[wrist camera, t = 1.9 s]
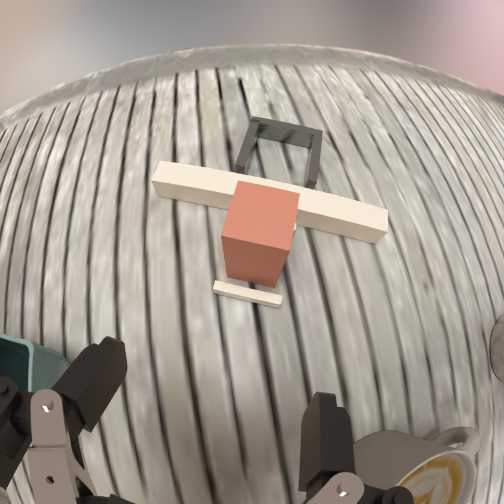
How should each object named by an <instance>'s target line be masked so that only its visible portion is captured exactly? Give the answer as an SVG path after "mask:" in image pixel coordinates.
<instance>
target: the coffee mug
mask: <svg viewBox="0 0 504 504" xmlns="http://www.w3.org/2000/svg"><path fill="white" fill-rule="evenodd" d="M460 442H461V443H463V444H462V445H461V446H459V447H456V448H453V447H449V445H451V444H454V443H460ZM480 443H481V439H480V435H479V433H478V432H477V431H476V430H475V429H473V428H470V427H455V428H451V429H448V430H446V431H444V432H442V433H441V434H439V435H438V436H437V437H435V438H434V439H432V440H430V441H427V440H424V439H420V438H417V437H414V436H411V435H407V434H404V433H401V432H398V431H391V430H386V431H379V432H376V433H373V434H370V435H367V436H365V437H364V438H362V439H360V440H359V441H357V442H356V443H354V444H353V450H354V461H355V471H356V474H357V476H358V477H359V478H360V479H361V480H362V482H363V483H364V484H366V485H368V486H371V487H375V488H379V489H383V490H388V489H390V488H392V487H394V486H402V487H405V488H407V489H408V490H409V491H410V492H411V493H412V495H413V499H414V504H468V503H469V501H470V499H471V496H472V494H473V491H474V489H475V485H476V479H477V467H476V463H475V461H474V459H473V456H474V455H475V454H476V453H477V451H478V449H479V447H480Z"/></svg>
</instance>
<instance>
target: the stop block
mask: <svg viewBox="0 0 504 504" xmlns="http://www.w3.org/2000/svg"><path fill="white" fill-rule="evenodd" d="M299 196H300V193H296V192H291V191H287V190H282V189H278V188H273V187H269V186H264V185H259V184H254V183H249V182H244V181H239V180H238V182H237V185H236V188H235V192H234V195H233V198H232V201H231V204H230V207H229V211H228V214H227V217H226V220H225V224H224V227H223V230H222V234H221V239H222V246H223V252H224V259H225V265H226V271H227V277H230V278H234V279H238V280H243V281H247V282H251V283H256V284H260V285H264V286H269V287H273V288H275V286H276V283H277V281H278V278H279V276H280V273H281V271H282V269H283V266H284V264H285V261H286V259H287V256H288V254H289V251H290V246H291V241H292V236H293V230H294V225H295V219H296V214H297V208H298V202H299Z"/></svg>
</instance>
